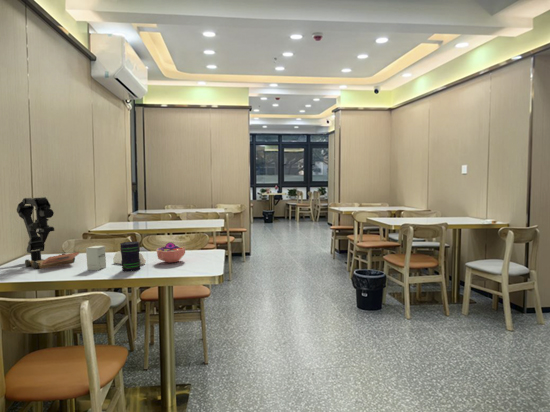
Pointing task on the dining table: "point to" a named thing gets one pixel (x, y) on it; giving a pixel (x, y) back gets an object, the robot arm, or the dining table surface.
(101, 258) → the supplement box
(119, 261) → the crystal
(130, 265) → the storage jar
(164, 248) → the cell model
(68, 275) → the dining table surface
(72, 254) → the panel
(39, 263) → the cart bed
